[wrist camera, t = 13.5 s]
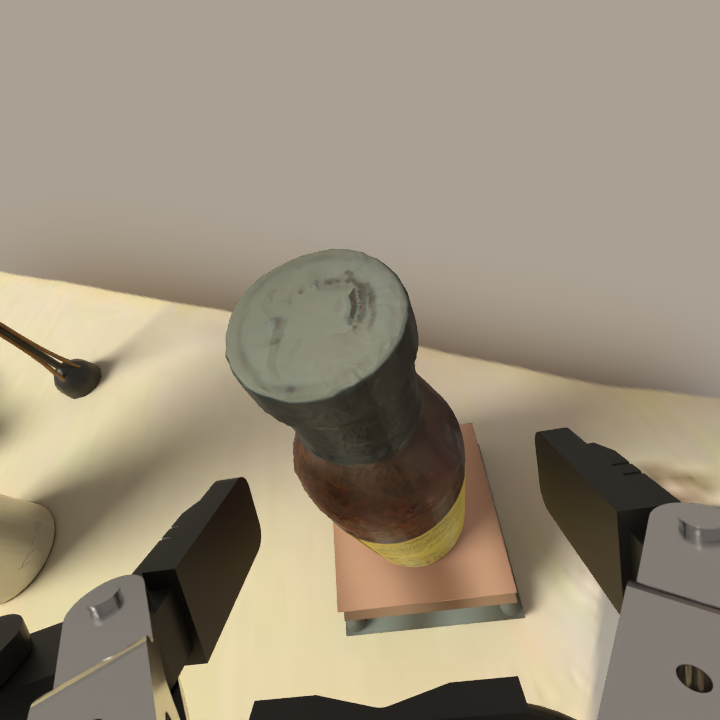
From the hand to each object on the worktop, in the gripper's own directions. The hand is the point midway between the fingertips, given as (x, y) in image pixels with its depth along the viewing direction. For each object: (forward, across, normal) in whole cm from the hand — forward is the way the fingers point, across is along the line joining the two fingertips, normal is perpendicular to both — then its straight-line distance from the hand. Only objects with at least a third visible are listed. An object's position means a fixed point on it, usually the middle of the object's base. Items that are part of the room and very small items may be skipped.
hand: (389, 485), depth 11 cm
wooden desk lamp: (+35, +38, 0) cm, 52 cm away
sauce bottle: (+12, 0, +9) cm, 15 cm away
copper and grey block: (+20, 0, +16) cm, 25 cm away
